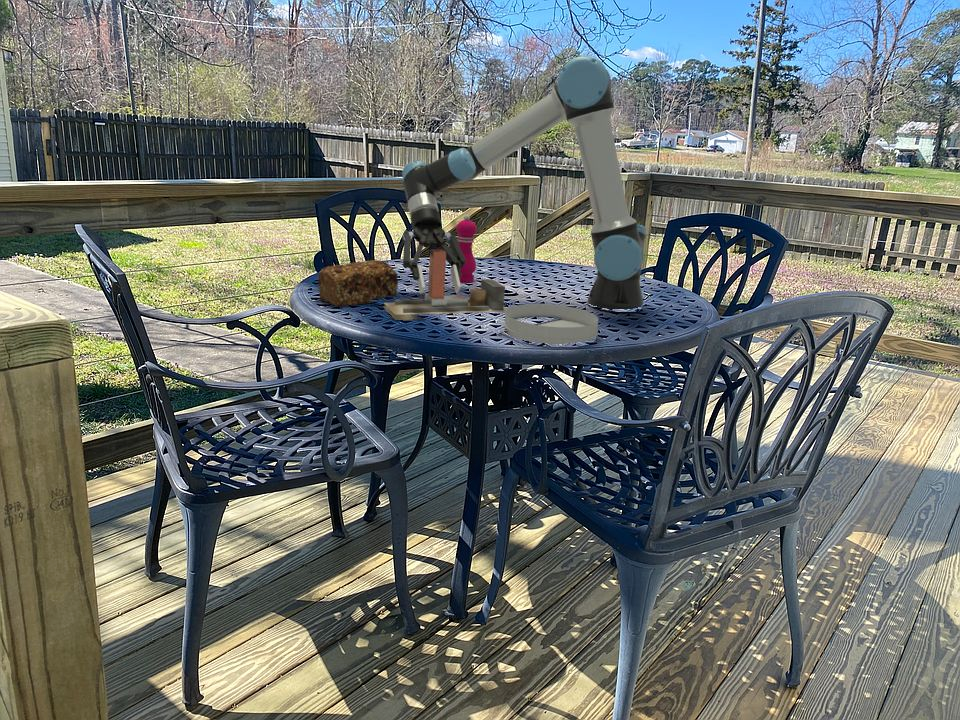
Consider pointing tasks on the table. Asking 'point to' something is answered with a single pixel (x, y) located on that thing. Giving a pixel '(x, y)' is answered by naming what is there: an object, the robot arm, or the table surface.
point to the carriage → (440, 283)
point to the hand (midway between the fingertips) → (440, 289)
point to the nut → (477, 297)
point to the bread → (357, 283)
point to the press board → (418, 306)
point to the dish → (551, 324)
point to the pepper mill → (467, 248)
